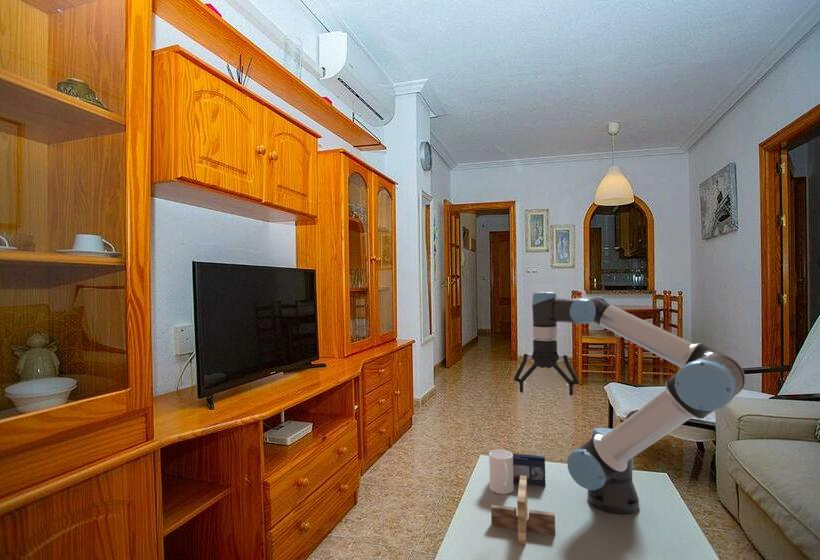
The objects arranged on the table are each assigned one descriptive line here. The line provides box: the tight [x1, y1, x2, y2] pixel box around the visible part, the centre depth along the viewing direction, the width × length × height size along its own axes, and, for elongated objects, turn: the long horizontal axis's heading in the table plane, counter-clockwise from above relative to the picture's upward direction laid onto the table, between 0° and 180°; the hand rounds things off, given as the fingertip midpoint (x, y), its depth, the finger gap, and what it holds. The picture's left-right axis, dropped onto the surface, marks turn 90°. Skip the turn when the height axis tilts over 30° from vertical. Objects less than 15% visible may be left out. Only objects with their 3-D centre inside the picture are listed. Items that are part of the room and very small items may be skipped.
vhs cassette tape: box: [511, 452, 547, 487], centre depth 158 cm, size 18×3×10 cm, turn 72°
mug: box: [488, 449, 515, 495], centre depth 152 cm, size 12×8×12 cm
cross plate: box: [516, 475, 529, 546], centre depth 129 cm, size 16×2×12 cm, turn 163°
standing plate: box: [490, 504, 556, 536], centre depth 129 cm, size 18×2×6 cm, turn 73°
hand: (546, 403), depth 145 cm, fingers open, 13 cm apart
